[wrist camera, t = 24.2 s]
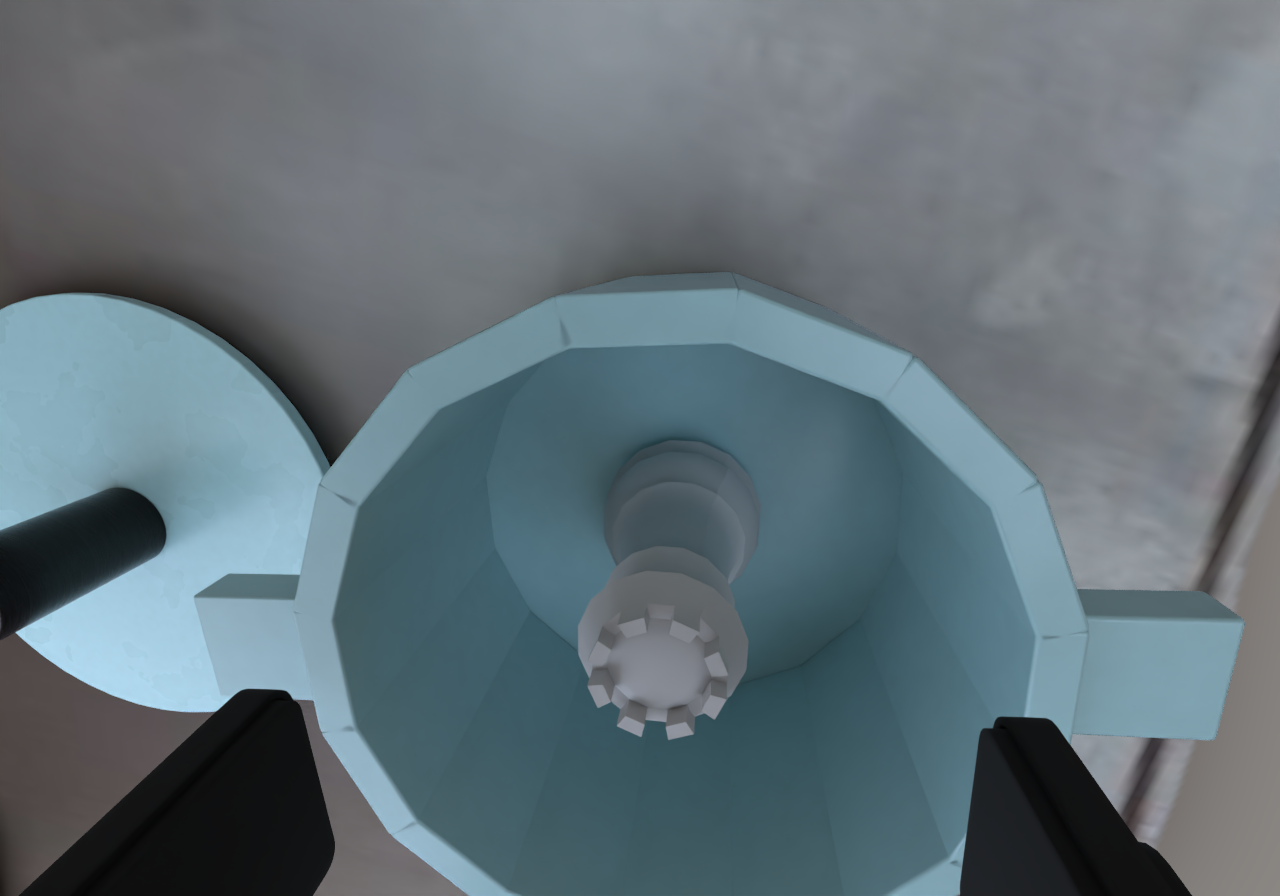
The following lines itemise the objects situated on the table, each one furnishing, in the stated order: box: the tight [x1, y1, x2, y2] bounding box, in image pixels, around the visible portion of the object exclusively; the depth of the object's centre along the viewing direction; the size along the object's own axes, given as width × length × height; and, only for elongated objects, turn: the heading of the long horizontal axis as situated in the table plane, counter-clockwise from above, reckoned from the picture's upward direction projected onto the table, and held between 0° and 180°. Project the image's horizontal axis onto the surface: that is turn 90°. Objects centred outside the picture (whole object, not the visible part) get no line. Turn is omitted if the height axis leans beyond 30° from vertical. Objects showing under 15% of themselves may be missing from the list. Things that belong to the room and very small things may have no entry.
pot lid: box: [0, 293, 330, 712], centre depth 19 cm, size 15×15×6 cm
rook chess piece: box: [578, 440, 761, 740], centre depth 15 cm, size 4×4×8 cm
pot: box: [194, 272, 1245, 896], centre depth 15 cm, size 14×19×8 cm
